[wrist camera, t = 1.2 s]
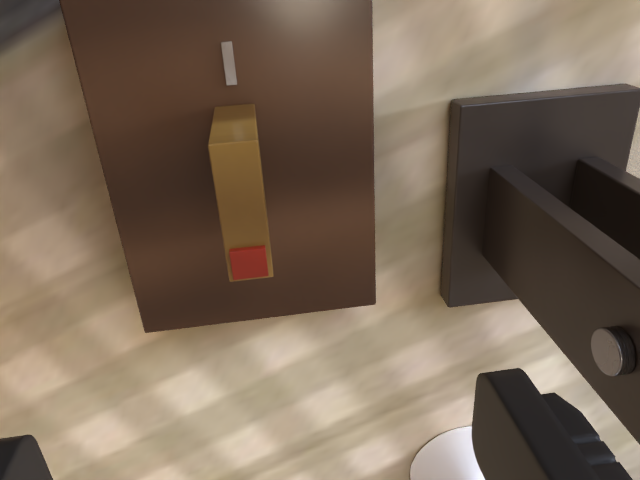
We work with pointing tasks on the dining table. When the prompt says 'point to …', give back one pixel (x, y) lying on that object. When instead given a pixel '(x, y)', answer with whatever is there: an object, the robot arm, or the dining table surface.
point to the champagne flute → (447, 458)
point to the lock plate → (274, 141)
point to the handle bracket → (552, 224)
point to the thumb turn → (240, 192)
